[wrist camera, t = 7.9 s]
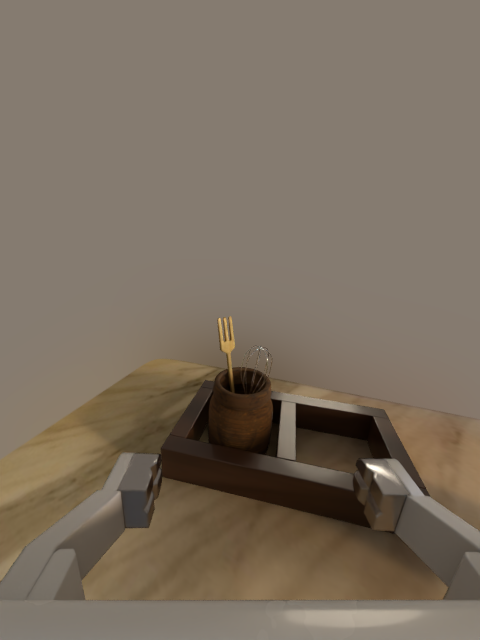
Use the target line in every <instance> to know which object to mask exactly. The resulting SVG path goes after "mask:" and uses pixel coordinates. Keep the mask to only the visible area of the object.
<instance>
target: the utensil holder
mask: <svg viewBox="0 0 480 640" xmlns="http://www.w3.org/2000/svg"><path fill="white" fill-rule="evenodd" d="M228 319H229V331H230V340H229V337H228V329H227V321H226V318H225V317H224V318H223V323H224V335H225V341H223V334H222V326H221V319H220V318H218V331H219V342H220V350H221V351H222V352H225V353H226V355H227V364H228V369H226V370H224V371H222V372H220V373H219V374H218V375H217V376H216V378H215V381H214V386H213V393H214V394H213V395H212V397H211V400H210V405H209V429H208V434H209V443H210V444H215V445H219V446H224V447H229V448H234V449H238V450H243V451H248V452H252V453H257V454H262V455H265V453H266V452H267V449H268V446H269V442H270V435H271V427H272V417H273V405H272V401H271V398H270V397H271V382H270V380H269V378H268V377H267V376H266V375H265V374H264V373H262V372H260V371H258V370H255V369H251V368H245V367H236V368H232V365H231V356H230V353H231V351H232V350H233V349H234V348H235V342H234V334H233V326H232V319H231V316H229V318H228ZM257 347H258V348H259V351H260V350H261V349H262V350H263V348H264V347H263V348H261V346H260V347H259V346H257ZM255 348H256V347H255ZM251 349H253V348H251ZM251 349H249V350H251ZM249 350H248V351H249ZM257 350H258V349H257ZM248 351H247V352H248ZM263 351H264V350H263ZM266 351H267V350H266ZM247 352H246V353H247ZM254 352H255V351H254ZM260 352H261V351H260ZM267 352H268V351H267ZM268 353H269V352H268ZM269 354H270V353H269ZM258 355H259V353H258ZM265 355H266V353H265ZM270 355H271V354H270ZM268 356H269V355H268ZM250 357H251V356H250ZM266 357H267V356H266ZM259 358H260V356H259ZM257 359H258V358H257ZM243 360H244V359H243ZM258 362H259V361H258ZM247 363H248V360H247ZM247 363H246V367H247ZM266 365H268V358H267V363H266ZM271 365H272V363H271ZM257 366H258V364H257ZM267 367H268V366H267ZM255 368H256V367H255ZM264 371H265V370H264ZM266 373H267V372H266ZM269 373H270V372H269Z"/></svg>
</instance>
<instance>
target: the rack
mask: <svg viewBox="0 0 480 640" xmlns="http://www.w3.org/2000/svg"><path fill="white" fill-rule="evenodd" d="M213 386H214V382H213V381H207V380H205V381H204V383H203V384H202V386H201V388H200V389H199V391H198V392H197V394H196V395H195V397H194V398H193V400H192V401H191V403H190V404H189V406H188V407H187V409H186V410H185V412H184V413H183V415H182V416H181V418H180V420H179V421H178V423H177V424H176V426H175V427H174V429H173V430H172V432H171V433H170V435H169V436H168V438H167V439H166V441H165V443H164V444H163V446H162V447H161V460H162V476H163V477H166V478H170V479H174V480H178V481H182V482H186V483H190V484H194V485H199V486H203V487H207V488H211V489H215V490H219V491H223V492H227V493H231V494H235V495H239V496H243V497H248V498H252V499H256V500H260V501H264V502H268V503H272V504H276V505H280V506H284V507H288V508H292V509H297V510H301V511H305V512H309V513H313V514H317V515H321V516H325V517H329V518H333V519H337V520H341V521H346V522H350V523H354V524H358V525H362V526H366V527H370V528H371V526H370V524H369V522H368V520H367V518H366V516H365V514H364V507H365V506H364V505H363V504H362V503H361V502H359V501H358V499H357V497H356V495H355V492H354V489H353V481H352V480H353V475H354V474H352V473H347V472H342V471H338V470H333V469H328V468H323V467H319V466H314V465H309V464H305V463H300V462H296V427H299V428H304V429H310V430H315V431H320V432H326V433H331V434H336V435H342V436H347V437H352V438H358V439H363V440H367V442H368V445H369V448H370V451H371V453H372V456H373V458H381V459H396V460H398V461H399V462H400V464H401V465H402V466H403V468H404V469H405V470H406V472H407V473H408V474H409V476H410V477H411V478H412V480H413V481H414V482H415V484H416V485H417V486H418V488H419V489H420V490H421V491H422V493H423V494H424V495H425V496H429V497H430V495H429V493H428V492H427V490H426V487H425V485H424V484H423V482H422V480H421V478H420V476H419V474H418V472H417V471H416V469H415V467H414V465H413V463H412V461H411V459H410V457H409V456H408V454H407V452H406V450H405V448H404V446H403V444H402V442H401V441H400V439H399V437H398V435H397V433H396V431H395V429H394V427H393V426H392V424H391V422H390V420H389V418H388V416H387V414H386V412H385V411H384V409H378V408H372V407H366V406H360V405H353V404H347V403H341V402H335V401H329V400H323V399H317V398H311V397H305V396H299V395H292V394H286V393H280V392H274V391H271V397H270V398H271V401H272V405H273V417H272V423H277V424H279V425H278V436H277V447H276V457H271V456H267V455H262V454H257V453H252V452H248V451H243V450H238V449H234V448H229V447H224V446H219V445H215V444H210V443H205V442H200V441H199V439H200V437H201V434H202V432H203V430H204V428H205V426H206V424H207V422H208V420H209V405H210V400H211V397H212V395H213V394H214V393H213ZM386 532H390V533H395V531H386ZM395 534H396V533H395Z"/></svg>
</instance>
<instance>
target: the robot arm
mask: <svg viewBox="0 0 480 640" xmlns="http://www.w3.org/2000/svg"><path fill="white" fill-rule="evenodd" d="M161 461H162V460H161V454H150V453H125V452H123V453H122V454H121V455H120V456H119V458H118V459H117V461H116V463H115V465H114V467H113V469H112V471H111V473H110V475H109V476H108V478H107V480H106V482H105V484H104V486H103V488H102V490H97V491H96V492H94V493H93V494H92V495H91V496H89V497H88V498H87V499H85V500H84V501H83V502H82V503H80V504H79V505H78V506H76V507H75V508H74V509H73V510H71V511H70V512H69V513H68V514H66V515H65V516H64V517H62V518H61V519H60V520H59V521H57V522H56V523H55V524H53V525H52V526H51V527H50V528H48V529H47V530H46V531H44V532H43V533H42V534H41V535H39V536H38V537H37V538H36V539H34V540H33V541H32V542H30V543H29V544H28V545H27V546H25V547H24V549H23V550H22V552H21V553H20V555H19V556H18V558H17V559H16V561H15V562H14V563H13V565H12V566H11V568H10V569H9V571H8V572H7V574H6V575H5V577H4V578H3V580H2V581H1V582H0V640H480V531H478V530H477V529H476V528H474V527H473V526H471V525H470V524H468V523H467V522H465V521H464V520H463V519H461V518H460V517H458V516H457V515H455V514H454V513H452V512H451V511H450V510H448V509H447V508H445V507H444V506H442V505H441V504H439V503H438V502H437V501H435V500H434V499H432V498H431V497H429V496H425V495H424V494H423V493H422V491H421V490H420V489H419V488H418V486H417V485H416V484H415V482H414V481H413V480H412V478H411V477H410V476H409V474H408V473H407V472H406V470H405V469H404V468H403V466H402V465H401V464H400V462H399V461H398V460H396V459H381V458H359V459H358V460H357V463H356V467H357V468H358V470H357V471H356V472H355V473H354V475H353V480H352V481H353V489H354V492H355V495H356V497H357V499H358V501H359V502H361V503H362V504H363V505H364V506H365V507H364V514H365V516H366V518H367V520H368V522H369V524H370V526H371V528H372V530H378V531H395V533H396V534H397V535H398V536H399V537H400V538H401V539H402V540H403V541H404V542H405V544H406V545H407V546H408V547H409V548H410V549H411V550H412V551H413V552H414V553H415V554H416V555H417V556H418V557H419V558H420V559H421V560H422V561H423V562H424V563H425V564H426V565H427V566H428V567H429V568H430V569H431V570H432V571H433V572H434V573H435V574H436V575H437V576H438V577H439V578H440V579H441V580H442V581H443V582H444V583H445V584H446V585H447V586H448V590H447V592H446V594H445V596H444V598H443V600H85V596H84V591H83V586H82V582H81V581H82V579H83V578H84V577H85V576H86V575H87V574H88V572H89V571H90V570H91V569H92V568H93V567H94V565H95V564H96V563H97V562H98V561H99V560H100V559H101V557H102V556H103V555H104V554H105V553H106V552H107V550H108V549H109V548H110V547H111V546H112V545H113V543H114V542H115V541H116V540H117V539H118V538H119V536H120V535H121V534H122V533H123V532H124V531H125V528H149V526H150V523H151V520H152V516H153V513H154V510H155V505H154V501H155V500H156V499H157V498H158V496H159V492H160V488H161V483H162V469H161V468H160V465H161Z"/></svg>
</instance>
